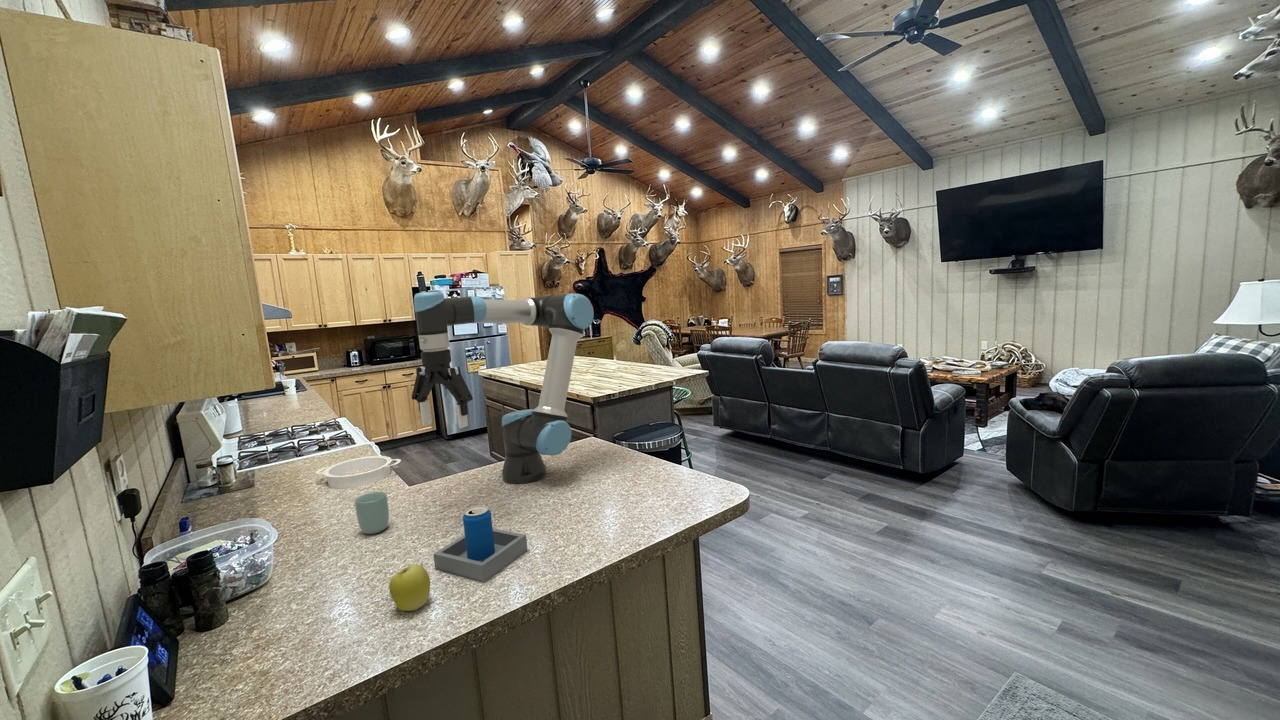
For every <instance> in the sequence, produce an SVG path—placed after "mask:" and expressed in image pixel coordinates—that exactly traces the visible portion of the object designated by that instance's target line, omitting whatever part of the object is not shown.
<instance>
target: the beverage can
mask: <svg viewBox="0 0 1280 720" xmlns="http://www.w3.org/2000/svg"><path fill="white" fill-rule="evenodd" d="M462 522H463V523H462V524H463V533H464V535H465V542H466V550H467V558H468V559H471V560H475V561H479V562H483V561H485V560H486V559H487V558H489V557H490V556H492V555H493V554H494V553H495V547H494V537H493V528H494V527H493V520H492V513H491V510H490V509H489V507H488V506H487V505H483V504H481V505H479V504H478V505H473V506H470V507H468V508H466V509H465V510H464V511H463V516H462Z"/></svg>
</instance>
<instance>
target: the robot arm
mask: <svg viewBox="0 0 1280 720" xmlns="http://www.w3.org/2000/svg"><path fill="white" fill-rule="evenodd" d="M413 305H414V309H413V310H414V314H415V319H416V321H415V322H416V327H417V335H418V342H419V350H421V353H420V359H421V365H422V366H420V367H416V369H415V370H416V371H415V373H416V376H415V381H414V385H413V389H412V394H411V400H412V401H414V400H415V401H416V402H417V403H418V404H417V405H418V409H419V413H420V416H421V424H422V426H427V425H430V424H432V423H433V421H432V413H431V405H430V400H429V398H428V397H429V395H430V393H431V392H432V390H433V388H434V385H435V384H437V385H442V386H445V387H446V389H447V391H448V392H449V393H450V394H451V396H453V398H454V399H455V400H456V402H457V404H455V407H456V415H457V425H458V429H463V428H466V427H468V426H469V422H468V415H469V409H468V402H469V403H470V402H471V401H473V399H474V398H473V396H472V393H471V391H470V390H469V387H468V385H467V384H466V382H465V380H464V377H463V375H462V372H461V367H460V366H453V367H451V365H450V364H451V362H452V354H451V349H449V347H450V346H451V344H450V339H449V338H450V337H449V329H448V327H450V326H451V327H452V326H458V325H467V324H469V325H470V324H517V323H518V324H519V323H521V324H523V325H525V326H535V327H536V326H537V327H543V328H548V331H549V332H550V334H551V340H550V343H549V344H550V345H549V351H548V356H547V360H546V364H545V365H546V366H545V369H544V375H543V381H542V384H541V385H542V386H541V389H540V396H539V400H538V406H536V407H535V408H530V409H521V410H516V411H512V412H508V413H506V414H504V415H503V416H502V417H501V428H502V436H503V444H504V445H503V446H504V455H505V459H504V462H503V467H502V471H501V479H502V481H503V482H505V483H507V484H513V485H514V484H516V485H519V484H520V485H521V484H527V483H532V482H536V481H539V480H541V479H542V478H544V477H545V476H546V475H547V473H548V472H547V466H546V464H545V463H544V460H543V458H542V455H543V456H551V457H552V456H554V457H555V456H557V455H560V454H561V453H563V451H565V450H566V449H567V448H568V446H569V444H570V442H571V440H572V429H571V426H570V425H569V423H568V422H567V421H568V414H567V412H565V406H566V402H567V397H568V391H569V387H570V381H571V377H572V376H571V375H572V369H573V366H574V365H573V364H574V360H575V355H576V349H577V344H578V341H579V340H580V339H582V337H583V336H584V331H585V329H587V328H589V327H590V326H591V325H592V323H593V321H594V316H595V315H594V313H595V312H594V308H593V304H592V303H591V301H590V300H589V298H588V297H587V296H585V295H584V294H580V293H573V292H571V293H561V294H559V293H558V294H550V295H549V294H547V295H541V296H536V297H523V298H522V299H521V300H520V299H519V300H518V299H516V300H515V299H483V298H482V297H480V296H472V295H471V296H461V297H447V298H445V296H444V293H443V292H442V291H432V292H431V291H429V292H418V293H415V294H414V297H413Z"/></svg>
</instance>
